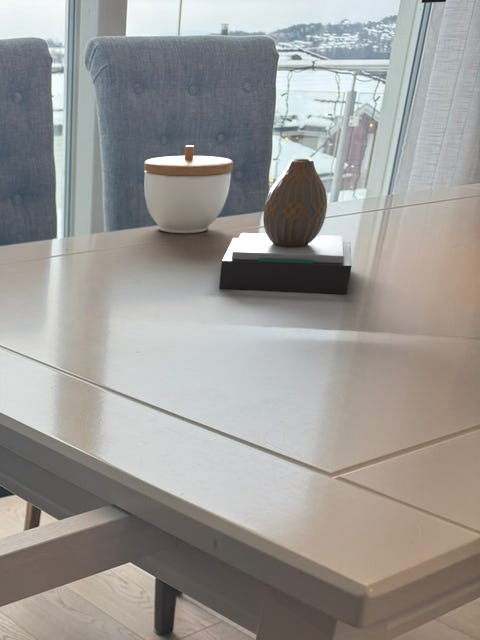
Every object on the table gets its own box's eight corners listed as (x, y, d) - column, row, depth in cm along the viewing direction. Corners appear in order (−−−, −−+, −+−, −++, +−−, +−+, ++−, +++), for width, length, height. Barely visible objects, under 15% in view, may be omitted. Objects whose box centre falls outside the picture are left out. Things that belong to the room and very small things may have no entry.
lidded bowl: (241, 227, 139) (251, 143, 133) (197, 240, 131) (205, 152, 125) (170, 218, 146) (176, 139, 140) (123, 230, 138) (128, 147, 132)
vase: (248, 244, 109) (257, 160, 104) (281, 236, 113) (292, 155, 108) (299, 252, 104) (312, 165, 100) (332, 243, 108) (346, 159, 103)
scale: (345, 267, 115) (351, 234, 113) (346, 294, 103) (353, 258, 101) (230, 263, 118) (233, 231, 116) (218, 288, 107) (222, 253, 105)
